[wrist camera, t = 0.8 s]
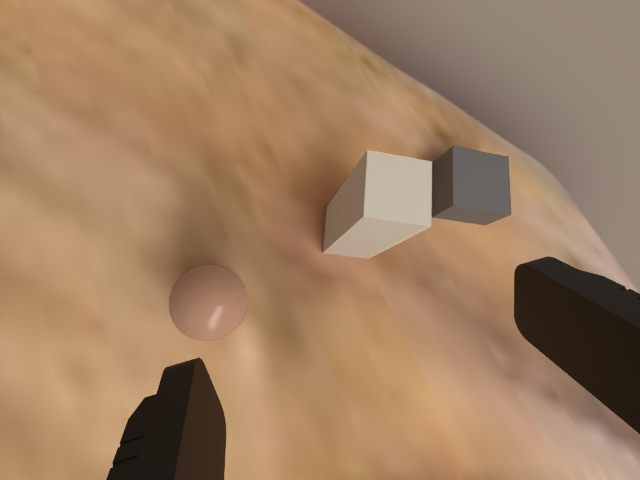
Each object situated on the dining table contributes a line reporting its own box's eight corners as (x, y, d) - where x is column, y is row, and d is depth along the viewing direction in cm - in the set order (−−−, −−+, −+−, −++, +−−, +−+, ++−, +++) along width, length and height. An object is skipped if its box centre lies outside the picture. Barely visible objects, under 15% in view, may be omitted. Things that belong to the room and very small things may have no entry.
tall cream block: (322, 252, 34) (363, 216, 22) (326, 207, 35) (367, 149, 23) (369, 258, 34) (431, 226, 23) (371, 213, 35) (432, 161, 24)
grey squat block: (431, 217, 37) (453, 205, 33) (432, 164, 38) (452, 146, 35) (484, 225, 38) (511, 214, 34) (482, 172, 39) (508, 156, 36)
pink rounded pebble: (180, 334, 30) (162, 337, 23) (191, 273, 31) (176, 260, 24) (242, 339, 31) (241, 343, 24) (250, 280, 32) (251, 268, 25)
